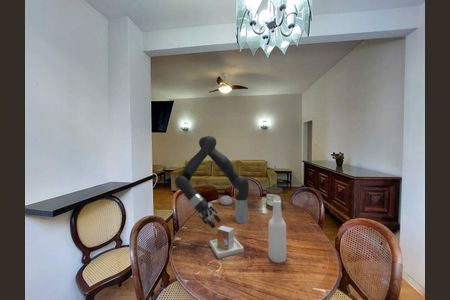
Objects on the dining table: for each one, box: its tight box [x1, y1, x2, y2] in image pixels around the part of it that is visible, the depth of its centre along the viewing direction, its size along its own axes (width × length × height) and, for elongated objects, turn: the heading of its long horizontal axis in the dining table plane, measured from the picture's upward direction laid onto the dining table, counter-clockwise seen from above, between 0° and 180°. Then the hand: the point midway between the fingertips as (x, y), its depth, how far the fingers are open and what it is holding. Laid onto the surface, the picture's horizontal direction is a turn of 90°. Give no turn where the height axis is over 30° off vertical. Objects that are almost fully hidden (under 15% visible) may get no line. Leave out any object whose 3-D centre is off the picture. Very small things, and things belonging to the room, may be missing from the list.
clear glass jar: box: [265, 183, 284, 212], centre depth 176 cm, size 15×15×22 cm
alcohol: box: [268, 200, 287, 264], centre depth 99 cm, size 9×9×30 cm
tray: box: [209, 237, 245, 260], centre depth 110 cm, size 15×15×2 cm
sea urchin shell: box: [218, 195, 233, 206], centre depth 191 cm, size 13×14×8 cm
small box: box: [216, 225, 235, 250], centre depth 110 cm, size 8×6×10 cm
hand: (217, 224), depth 111 cm, fingers open, 8 cm apart
